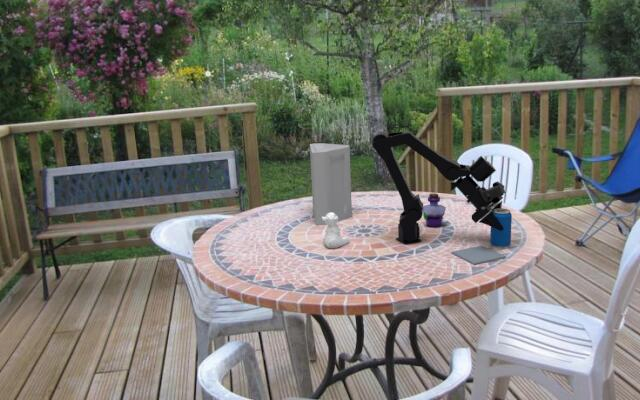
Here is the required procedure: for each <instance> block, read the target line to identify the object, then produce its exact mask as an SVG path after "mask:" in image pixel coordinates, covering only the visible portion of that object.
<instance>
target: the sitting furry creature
mask: <svg viewBox="0 0 640 400" xmlns="http://www.w3.org/2000/svg"><path fill="white" fill-rule="evenodd" d="M322 220H323V221H325V223H326V224H327V225H326V226H327V227H326V229H325V235H324V236H323V238H322V242H323V244H324V246H325V247H326V248H328V249H339V248H340V247H342V246H344V245H348V244H349V243H350V241H351V238H350V237H347V236H345V235H344V236H342V237H341V235H340V234H341V228H340V227H339V225H338V223H339V221H338V216H337V215H336V214H334V213H333V212H332V213H328V214H326V216H325V217H322Z"/></svg>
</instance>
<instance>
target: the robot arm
mask: <svg viewBox="0 0 640 400" xmlns="http://www.w3.org/2000/svg"><path fill="white" fill-rule="evenodd" d="M371 145H372V148H373V149H374V150H375V152H376V154H377V155H378V156H379V157H380V159H382V161H383V162H384V163H385V166H386V169H387V171H388V172H389V175H390V176H391V179H392V181H393V183H394V185H395V188H396V190H397V192H398V194H399V196H400V199H401V202H402V203H401V204H402V208H403V211H402V212H401V213H400V215H399V220H398V223H397V233H398V235H397V236H398V237H396V238H395V241H398V242H400V243H402V244H404V245H409V244H414V243H415V244H416V243H420V242H422V239H420V230H421V228H420V226H419V221H420V220H422V218H423V207H424V203H423V202H422V201H421V197H420V195H419V193H418V194H416V195H415V194H414V193H413V191H412V190H411V188H410V185H409V183H408V181H407V179H406V177H405V175H404V173H403V170H402V168H401V166H400V164H399V162H398V160H397V157H396V155H395V151H394V150H395V149H394V148H396V147H400V146H405V145H406V146H408V147H409V148H410V149H411V150H413V151H414V152H415V153H417V154H419V155H420V156H421V157H422V158H424V159H425V160H427V161H428V162H429V163H431V164H432V165H433V166H434V167H435V168H436V169H437V170H438V172H439V173H440V174H441V175H442V176H443V177H444V178H445V179H446V180H447V181H450V191H454V190H455V189H456V188H457V189H458V191H459V192H460V193H461V194H462V195H463V196H464V197H465V198H466V199H467V200H466V202H467V203H468V204H469V203H471V204H472V205H473V207H474V208H475V210H474V211H475V212H473V214H471V220H472V221H473V223H475V224H477V222H478V223H479V224H480V223H481V224H483V225H487V226H488V227H490V228H491V227H493V228H496V229H498V230H500V231H502V230H503V229H504V228H503V226H502V225H501V223H500V222H499V221H498V219H497V218H496V217H495V215H494V209H498V208H502V205H503V199H504V197H503V196H504V194H506V191H505V185H503V183H500V182H499V181H494V182H493V183H492V187H490V188H486V187H485V186H482V187H481V186H480V185H479V184H478V183H481V182H482V183H484V182H485V181H486V180H487V179H488V178H489V177H490V176H492V175H493V174H494V173H496V171H497V170H496V168H495V167H494V166H493V165H492V163H490V161H488V160H486V159H485V158H484V157H483V156H482V155H480V156H479V157H478V158H477V159H476V161H474V162H473V163H472V164H471V165H467V164H463V163H462V164H461V163H459V162H458V161H456V160H455V159H452V158H450V157H448V156H445V155H443V154H441V153H439V152H438V151H436V150H435V149H434V148H433V147H431V146H430V145H429V144H427V143H426V142H424V141H423V140H421V139H420V138H419V137H417V136H416V135H414V134H413V132H412V131H410V130H405V131H396V132H386V131H379V132H377V133H376V134H374V137H373V139H372V142H371ZM477 182H478V183H477Z"/></svg>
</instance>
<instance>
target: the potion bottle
mask: <svg viewBox="0 0 640 400" xmlns="http://www.w3.org/2000/svg"><path fill="white" fill-rule="evenodd" d="M440 201H441V197H440V196H439V194H438V193H429V195H428V197H427V202H428V203H429V204H425V205H423V214H422V218H424V220H425V224H426V227H428V228H431V229H432V228H433V229H437V228H441V227H442V223H443V219H444V215H445V212H446V208H447V207H446V206H444V205H442V204H439V202H440Z"/></svg>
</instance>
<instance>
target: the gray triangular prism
mask: <svg viewBox="0 0 640 400" xmlns="http://www.w3.org/2000/svg"><path fill="white" fill-rule="evenodd" d="M350 146H351V145H348V144H337V143H335V144H334V143H324V142H323V143H321V142H319V143H309V155H310V156H309V158H310V159H309V160H310V176H311V179H310V180H311V194H312V195H311V197H312V213H313V219H314V223H315V226H328V225H327V224H326V223H325V221H323V220H322V217H325V216H326V214H328V213H332V212H333V213H334V214H336V215H337V216H338V222H341V221H345V220H347V219H349V218H350V219H351V218H352V217H353V210H352V209H353V208H352V207H353V205H352V178H351V177H352V176H351V175H352V174H351V149H350Z"/></svg>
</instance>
